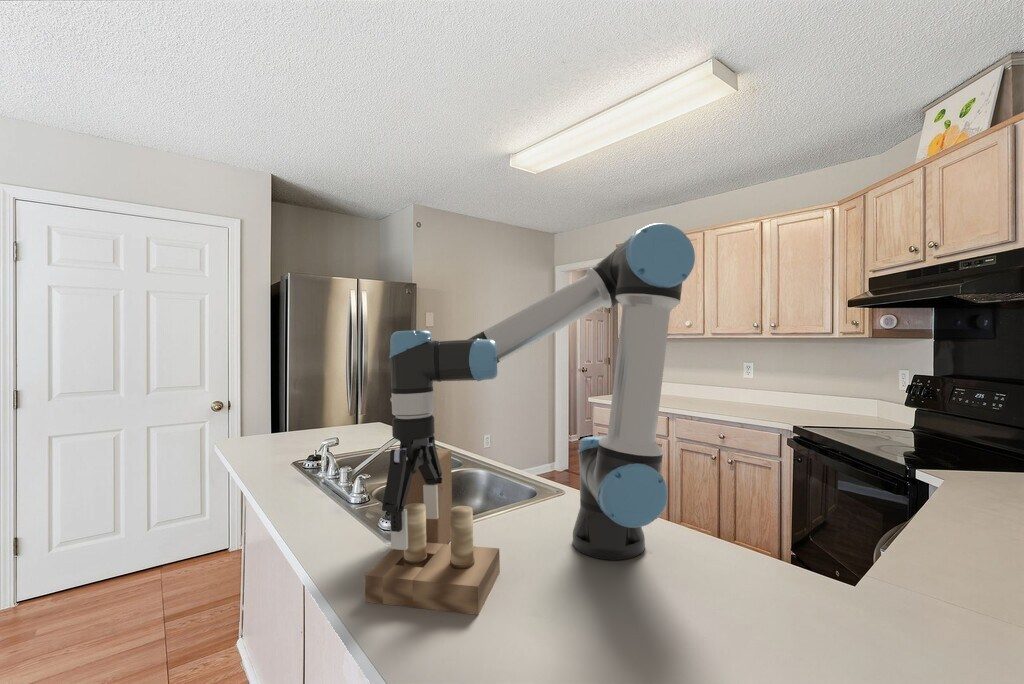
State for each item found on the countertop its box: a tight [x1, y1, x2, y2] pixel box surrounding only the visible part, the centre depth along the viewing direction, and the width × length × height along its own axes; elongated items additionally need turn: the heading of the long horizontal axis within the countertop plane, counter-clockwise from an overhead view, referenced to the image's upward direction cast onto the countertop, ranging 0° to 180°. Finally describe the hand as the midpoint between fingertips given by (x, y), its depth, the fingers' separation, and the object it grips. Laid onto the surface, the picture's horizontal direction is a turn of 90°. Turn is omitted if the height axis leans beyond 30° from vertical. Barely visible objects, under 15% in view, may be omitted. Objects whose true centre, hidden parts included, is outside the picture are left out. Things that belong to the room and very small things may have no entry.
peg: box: [403, 503, 427, 568], centre depth 83 cm, size 4×4×14 cm
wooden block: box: [405, 448, 453, 544], centre depth 99 cm, size 10×10×20 cm
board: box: [364, 505, 501, 616], centre depth 82 cm, size 20×14×14 cm
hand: (416, 532), depth 83 cm, fingers open, 13 cm apart
